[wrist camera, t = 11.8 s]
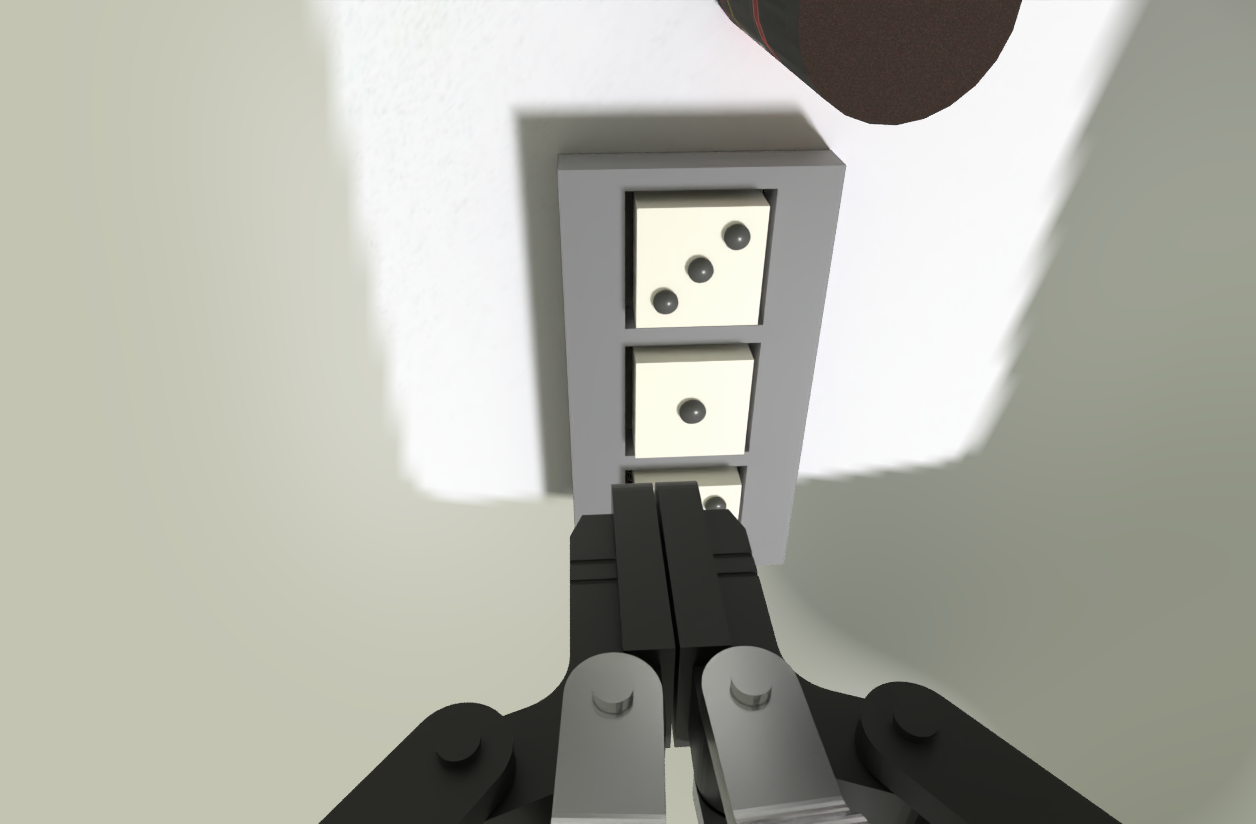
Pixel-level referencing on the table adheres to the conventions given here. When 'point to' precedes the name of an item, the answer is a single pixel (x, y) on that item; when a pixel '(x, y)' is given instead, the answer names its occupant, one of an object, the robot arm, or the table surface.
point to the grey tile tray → (778, 344)
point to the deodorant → (881, 49)
